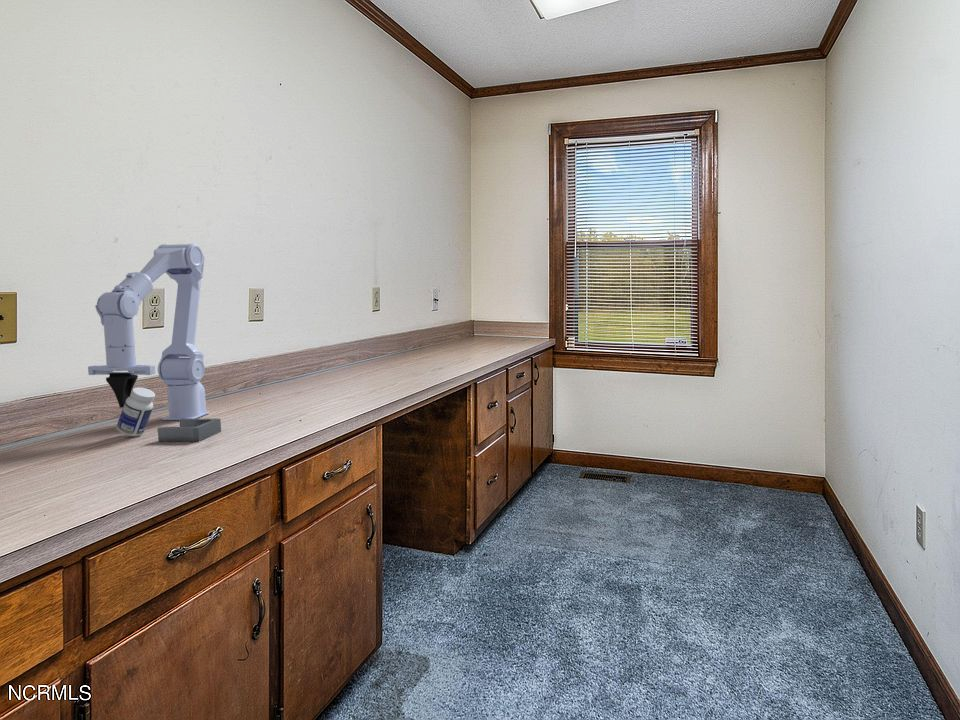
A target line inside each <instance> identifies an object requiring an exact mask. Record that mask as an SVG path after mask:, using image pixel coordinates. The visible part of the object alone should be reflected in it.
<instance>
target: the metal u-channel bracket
mask: <svg viewBox="0 0 960 720" xmlns="http://www.w3.org/2000/svg"><path fill="white" fill-rule="evenodd" d="M178 421H179V426H159V427H157V439H158V442H159V441H182V442H184V443H185V442H187V441H189V442H191V441H192V442H191V443H194V442H196V443H198V442H199V441H200V442H202V441H205V439H208V438H211V437H212V436H214V435H216V434H218V433H221V432H222V422H221V418H196V419H193V418H182V419H180V420H178ZM201 440H202V441H201ZM197 441H198V442H197ZM189 442H188V443H189ZM200 442H199V443H200Z"/></svg>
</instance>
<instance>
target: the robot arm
mask: <svg viewBox="0 0 960 720" xmlns="http://www.w3.org/2000/svg"><path fill="white" fill-rule="evenodd" d="M205 260H206V259H205V255H204V253H203V251H202V249H201V248H200V246H199V245H198V244H197V243H193V242H192V243H187V244H186V243H185V244H183V243H182V244H181V243H180V244H166V243H164V244H163V243H161V244H160V245H158V246H157V248H155V249H154V250H153V256H152V257H151V259H150V260H149V261H148V262H147V263H146V264H145V266H144V267H143V268H142V269H141V270H140V271H139V272H138V271H135V272H128V273H127V274H126V275H125V279H123V280H122V281H121V282H120V283H119V284H117V285H115V286H114V289H112V290H111V291H110V292H108V291H107V292H103V293H102V294H101V295H100V296H99V297H98V298H97V302H96V304H95V305H94V308H95V309H96V310H95V311H96V312H97V313H96V314H97V315H98V316H99V317H100V324H101V325H102V326H103V334H104V346H105V347H104V349H105V361H106V365H104V364H102V365H89V366H87V373H88V375H87V376H97V375H99V376H100V375H102V376H103V375H107V376H108V377H105V381H106V382H107V383H108V385H109V387H110V388H111V390H112V391H113V393H114V395H115V397H116V400H117V402H118V407H119V408H120V409H121V408H122V409H123V407H124V404H125V401H126V399H127V398H128V397H130V396H131V393H132V390H133V389H134V386H135V384H136V382H137V381H138V380H137V379H139V378H138V377H139V376H141V375H145V376H152V375H156V365H146V364H145V365H144V364H137V362H136V359H137V358H136V346H135V330H134V317H135V316H137V315H138V313H139V309H140V305H141V304H142V301H144V300H145V299H146V297H147V296H149V294H150V293H151V292H152V291H153V288H154V285H153V283H154V282H155V281H157V280H158V279H159V278H160V277H162V276H163V275H164V274H166V275H167V276H168V277H169V278H170V279H171V280H174V281H175V282H176V283H177V290H176V299H175V301H176V302H175V311H174V317H173V328H172V336H171V337H172V338H171V344H170V345H168V347H166V348H165V349H164V350H163V351H162V353H161V358H160V360H159V363H158V365H157V374H158V376H159V378H160V379H161V381H162V382H163V385H166V393H167V406H168V407H167V408H168V415H167V416H165V417H161V420H162V421H179V420H180V419H182V418H193V419H199V418H201V417H204V416H206V415H208V414H210V411H209V410H208V411H207V402H206V389H205V387H204V385H203V384H202V383H201V380H202V379H203V377H204V375H205V369H206V368H205V364H204V363H205V362H204V353H203V352H202V351H200V350H199V349H198V348H197V347H196V346H195V342H196V334H197V325H198V324H197V323H198V314H199V307H200V306H199V305H200V304H199V303H200V295H201V288H202V286H201V285H202V278H203V277H204V266H205Z"/></svg>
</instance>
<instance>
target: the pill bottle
mask: <svg viewBox="0 0 960 720" xmlns="http://www.w3.org/2000/svg"><path fill="white" fill-rule="evenodd" d="M155 397H156V393H155V392H154V391H152V390H151V389H148V388H145V387H133V388H132V391H131V395H130V397H128V398H127V399H126V401H125V404H124V407H123V408H122V409H121V413H120V414H119V415H120V416H119V418H118V421H117V424H116V430H117V431H118V432H119V433H120V434H122V435H124V436H125V435H126V436H127V437H128V436H129V437H139V436H142V435H143V434H144V433H145V430H146V428H147V425H148V422H149V419H150V417H151V414H152V411H153V409H154V403H153V401H154V400H155Z"/></svg>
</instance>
